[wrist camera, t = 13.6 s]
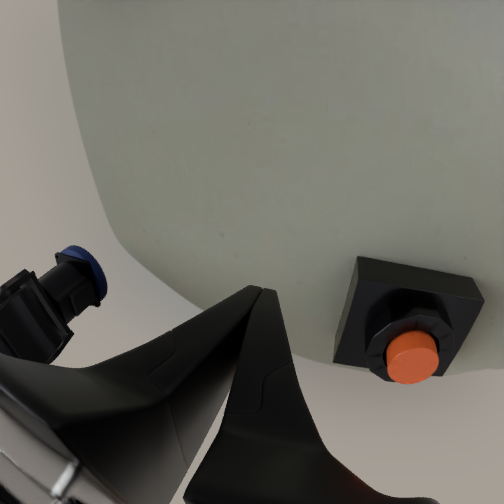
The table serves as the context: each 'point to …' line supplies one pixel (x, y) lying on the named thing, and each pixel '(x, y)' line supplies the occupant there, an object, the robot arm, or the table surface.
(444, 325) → the button box
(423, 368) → the button
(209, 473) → the robot arm
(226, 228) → the table surface
